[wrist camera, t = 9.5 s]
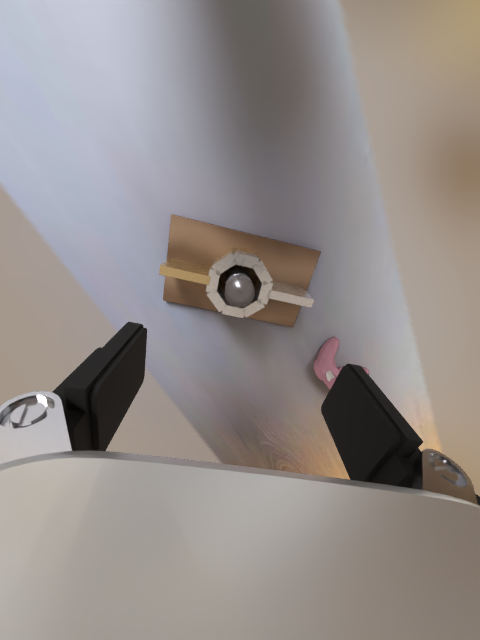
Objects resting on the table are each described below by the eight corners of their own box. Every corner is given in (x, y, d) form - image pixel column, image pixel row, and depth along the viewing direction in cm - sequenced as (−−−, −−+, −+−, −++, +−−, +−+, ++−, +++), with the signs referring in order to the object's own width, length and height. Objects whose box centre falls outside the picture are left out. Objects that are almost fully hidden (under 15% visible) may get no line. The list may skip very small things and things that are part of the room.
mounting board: (173, 214, 27) (171, 214, 26) (318, 250, 29) (320, 251, 28) (165, 297, 32) (162, 300, 31) (291, 324, 34) (293, 327, 33)
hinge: (175, 232, 27) (162, 235, 23) (310, 265, 29) (324, 273, 24) (169, 288, 30) (157, 300, 25) (293, 314, 32) (302, 330, 27)
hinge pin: (229, 263, 29) (228, 274, 21) (251, 268, 29) (258, 282, 22) (224, 285, 30) (221, 303, 22) (246, 290, 30) (250, 310, 23)
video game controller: (310, 342, 37) (306, 378, 32) (335, 332, 34) (335, 370, 29) (344, 375, 40) (345, 412, 35) (370, 369, 37) (375, 408, 32)
